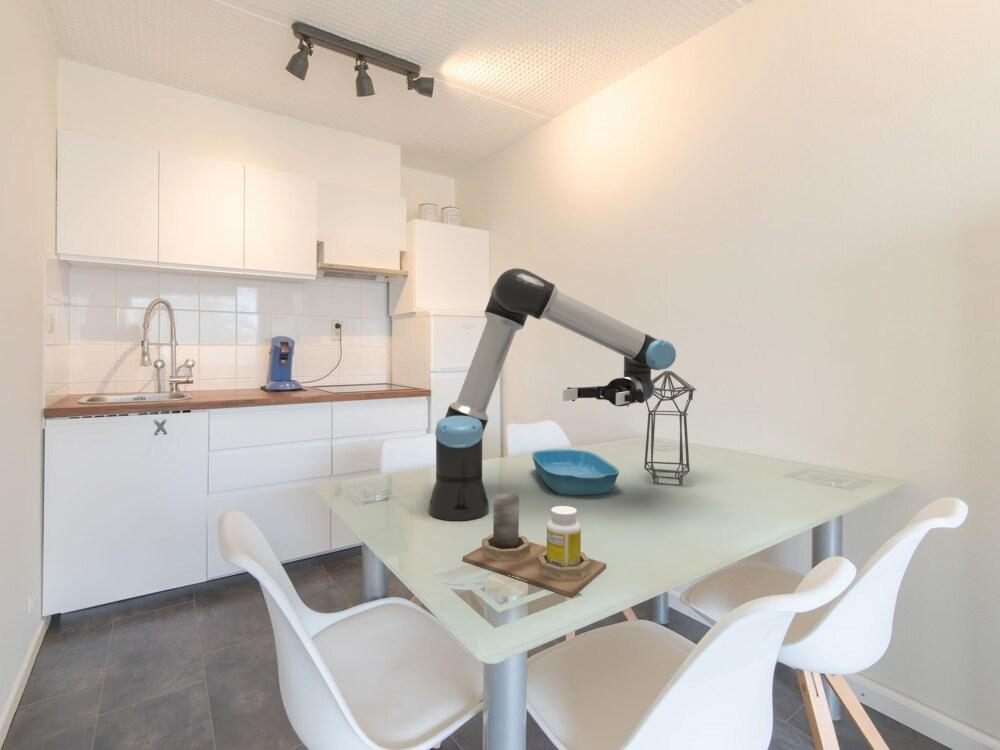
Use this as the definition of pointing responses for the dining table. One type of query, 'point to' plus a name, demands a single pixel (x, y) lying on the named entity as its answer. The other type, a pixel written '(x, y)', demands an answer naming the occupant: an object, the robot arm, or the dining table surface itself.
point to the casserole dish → (575, 471)
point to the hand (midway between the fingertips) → (589, 397)
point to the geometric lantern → (687, 388)
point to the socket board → (527, 554)
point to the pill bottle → (563, 537)
